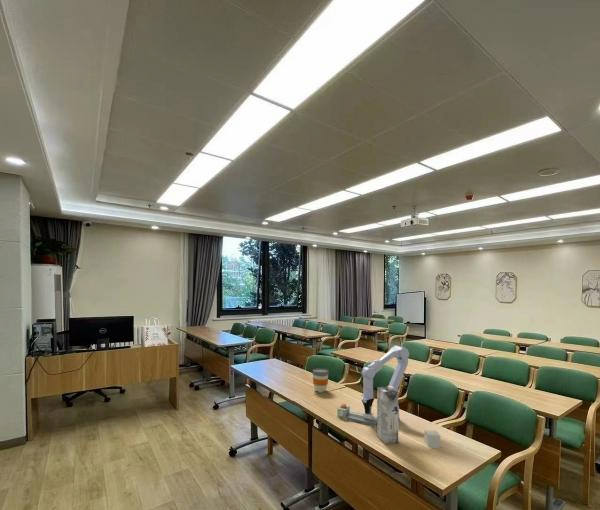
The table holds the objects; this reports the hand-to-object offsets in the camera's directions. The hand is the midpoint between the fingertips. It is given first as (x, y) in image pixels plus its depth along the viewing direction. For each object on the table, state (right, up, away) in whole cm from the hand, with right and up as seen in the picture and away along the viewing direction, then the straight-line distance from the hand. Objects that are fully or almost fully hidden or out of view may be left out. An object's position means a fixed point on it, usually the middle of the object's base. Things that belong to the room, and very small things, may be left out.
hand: (368, 411), depth 191 cm
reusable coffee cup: (-25, -11, +55) cm, 62 cm away
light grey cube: (+27, -3, -28) cm, 39 cm away
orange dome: (-14, -2, +7) cm, 16 cm away
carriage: (0, -4, 0) cm, 3 cm away
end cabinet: (-14, -6, +7) cm, 16 cm away
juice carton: (+5, -3, -24) cm, 25 cm away
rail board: (-3, -6, +1) cm, 6 cm away
